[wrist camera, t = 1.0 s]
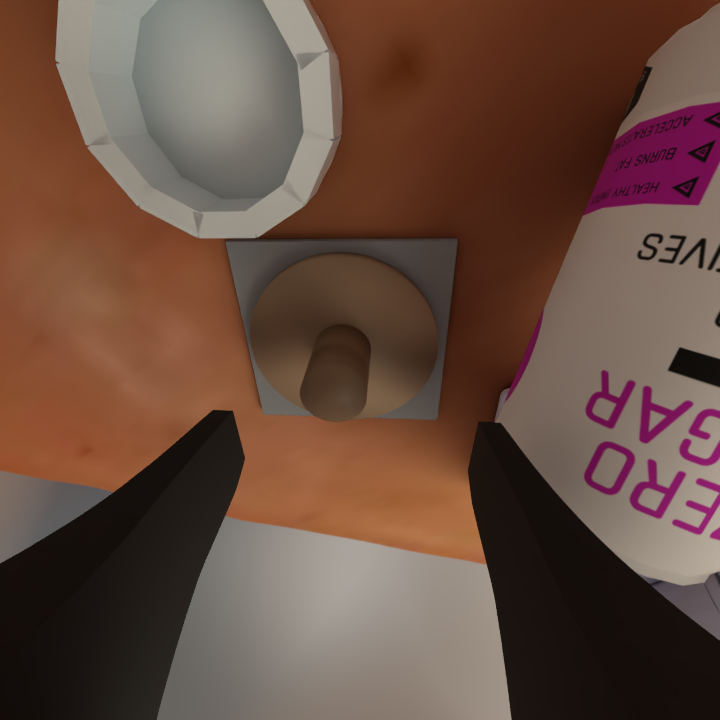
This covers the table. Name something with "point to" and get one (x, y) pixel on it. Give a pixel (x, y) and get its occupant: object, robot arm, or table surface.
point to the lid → (344, 336)
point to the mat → (410, 255)
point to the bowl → (205, 105)
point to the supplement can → (640, 331)
